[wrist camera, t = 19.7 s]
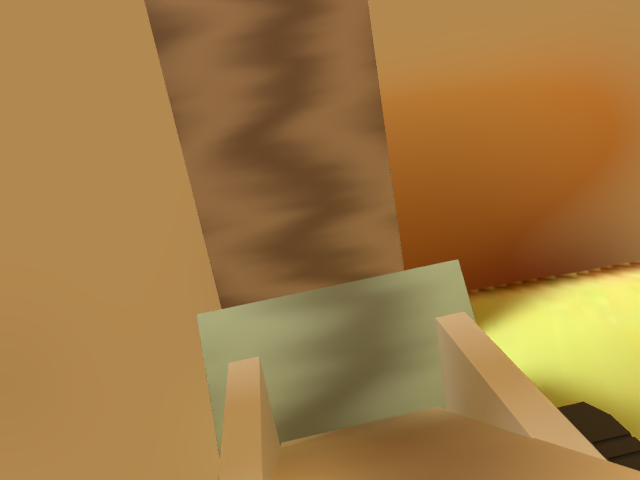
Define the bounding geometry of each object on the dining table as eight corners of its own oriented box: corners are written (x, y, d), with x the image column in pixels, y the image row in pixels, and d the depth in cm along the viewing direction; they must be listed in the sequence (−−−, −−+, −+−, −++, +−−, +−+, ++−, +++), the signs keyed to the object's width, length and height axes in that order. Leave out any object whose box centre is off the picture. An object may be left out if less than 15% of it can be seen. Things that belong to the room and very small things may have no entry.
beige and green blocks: (68, 1084, 4) (1, 225, 6) (259, 513, 20) (227, 328, 21) (990, 799, 5) (693, 90, 6) (463, 464, 20) (417, 287, 22)
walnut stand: (246, 409, 30) (87, -229, 21) (248, 354, 36) (125, -156, 27) (417, 370, 30) (331, -263, 21) (389, 323, 36) (314, -184, 28)
